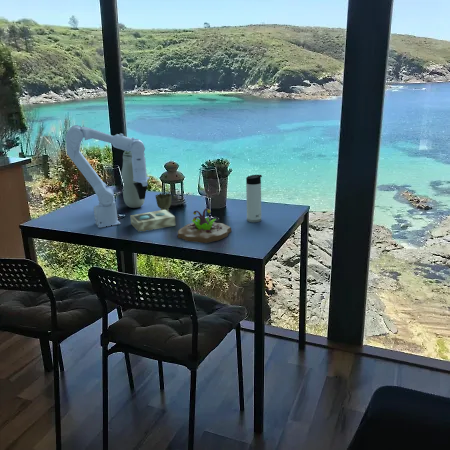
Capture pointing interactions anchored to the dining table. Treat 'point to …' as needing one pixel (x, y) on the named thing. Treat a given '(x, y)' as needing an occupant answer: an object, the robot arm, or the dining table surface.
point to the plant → (203, 229)
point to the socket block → (153, 220)
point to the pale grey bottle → (129, 183)
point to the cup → (163, 201)
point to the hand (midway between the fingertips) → (142, 198)
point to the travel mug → (253, 198)
